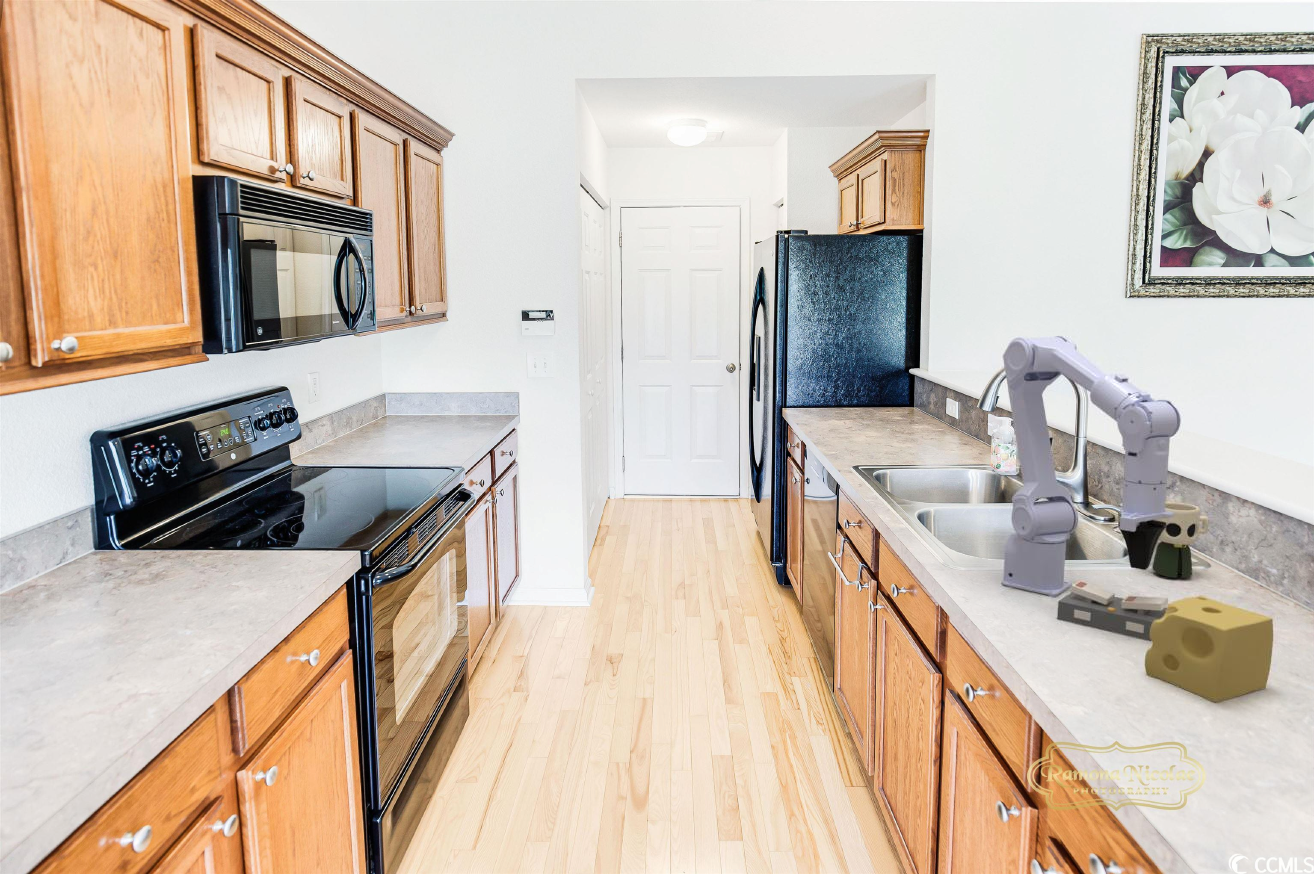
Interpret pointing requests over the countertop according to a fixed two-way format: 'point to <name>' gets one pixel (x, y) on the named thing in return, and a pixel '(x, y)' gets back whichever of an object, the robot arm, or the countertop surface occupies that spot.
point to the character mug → (1178, 540)
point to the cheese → (1211, 648)
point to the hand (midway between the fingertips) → (1139, 567)
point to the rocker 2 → (1144, 603)
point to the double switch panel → (1108, 615)
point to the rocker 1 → (1092, 592)
